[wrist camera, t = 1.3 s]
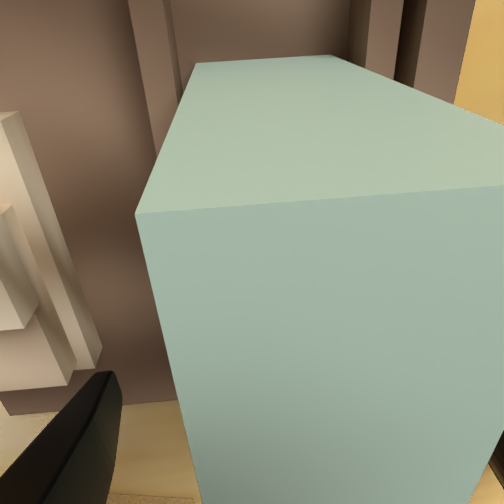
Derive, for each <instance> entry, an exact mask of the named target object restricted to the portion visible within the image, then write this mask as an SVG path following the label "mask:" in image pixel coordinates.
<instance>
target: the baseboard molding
mask: <svg viewBox="0 0 504 504" xmlns="http://www.w3.org/2000/svg"><path fill="white" fill-rule="evenodd" d="M106 504H194V502H193V499H191V498H174V497H158V496H141V495H125V494H108V498H107V502H106Z"/></svg>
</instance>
